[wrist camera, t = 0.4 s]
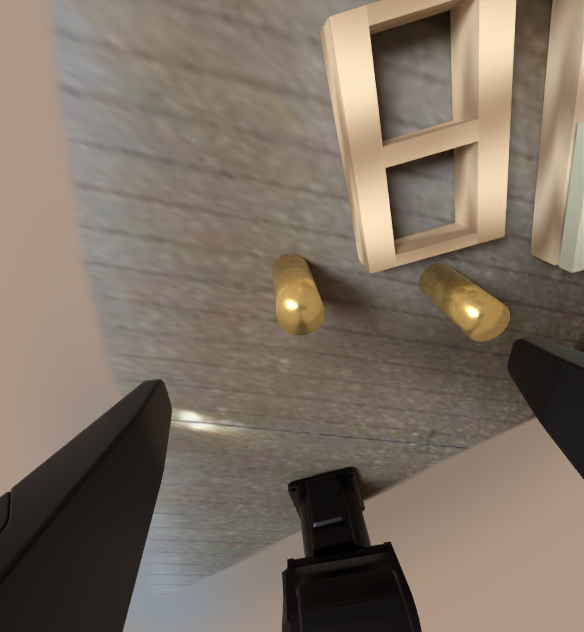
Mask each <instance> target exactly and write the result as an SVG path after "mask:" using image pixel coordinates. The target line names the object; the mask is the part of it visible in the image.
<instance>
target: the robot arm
mask: <svg viewBox="0 0 584 632" xmlns="http://www.w3.org/2000/svg"><path fill="white" fill-rule="evenodd" d="M508 372H509V374H510V376H511V378H512V379H513V381H514V382H515V384H516V385H517V387H518V389H519V390H520V392H521V393H522V395H523V397H524V398H525V400H526V401H527V403H528V404H529V406H530V408H531V409H532V411H533V412H534V414H535V416H536V417H537V419H538V420H539V422H540V423H541V424H542V426H543V427H544V428H545V430H546V431H547V433H548V434H549V435H550V436H551V438H552V439H553V440H554V442H555V443H556V444H557V445H558V447H559V448H560V449H561V451H562V452H563V453H564V455H565V456H566V457H567V458H568V460H569V461H570V462H571V464H572V465H573V466H574V467H575V469H576V470H577V471H578V473H579V474H580V475H581V476H582V478H583V479H584V352H581V351H577V350H574V349H571V348H568V347H565V346H561V345H558V344H555V343H552V342H549V341H545V340H542V339H539V338H536V337H527V338H519V339H517V340H515V342H514V343H513V346H512V350H511V354H510V357H509V361H508ZM171 415H172V407H171V402H170V399H169V396H168V393H167V390H166V386H165V384H164V382H163V380H161V379H156V380H148V381H144V382H143V383H141V384H140V385H139V386H138V387H137V388H135V389H134V390H133V391H132V392H130V393H129V394H128V395H127V396H125V397H124V398H123V399H122V400H120V401H119V402H118V403H117V404H115V405H114V406H113V407H112V408H111V409H109V410H108V411H107V412H106V413H104V414H103V415H102V416H101V417H99V418H98V419H97V420H96V421H94V422H93V423H92V424H91V425H90V426H88V427H87V428H86V429H84V430H83V431H82V432H81V433H80V434H78V435H77V436H76V437H75V438H73V439H72V440H71V441H70V442H69V443H67V444H66V445H65V446H63V447H62V448H61V449H60V450H59V451H57V452H56V453H55V454H53V455H52V456H51V457H50V458H49V459H47V460H46V461H45V462H44V463H42V464H41V465H40V466H39V467H37V468H36V469H35V470H34V471H32V472H31V473H30V474H29V475H27V476H26V477H25V478H24V479H22V480H21V481H20V482H19V483H18V484H17V485H15V486H14V487H13V488H12V489H11V492H6V493H5V494H4V495H2V496H1V497H0V632H123V628H124V624H125V620H126V617H127V613H128V608H129V605H130V601H131V597H132V593H133V589H134V585H135V582H136V578H137V573H138V570H139V566H140V562H141V558H142V554H143V550H144V547H145V543H146V539H147V535H148V531H149V527H150V523H151V519H152V515H153V512H154V508H155V504H156V500H157V496H158V492H159V488H160V484H161V480H162V476H163V472H164V466H165V459H166V452H167V444H168V437H169V430H170V423H171ZM288 491H289V494H290V496H291V498H292V501H293V503H294V505H295V508H296V510H297V512H298V514H299V517H300V519H301V527H302V536H303V545H304V553H305V558H300V559H294V558H292V559H288V560H287V564H288V568H287V569H286V570H285V571H284V572H282V578H283V617H282V632H422V631H421V626H420V622H419V617H418V613H417V609H416V606H415V603H414V600H413V597H412V594H411V591H410V588H409V586H408V583H407V581H406V579H405V576H404V574H403V571H402V569H401V566H400V564H399V561H398V559H397V556H396V554H395V552H394V549H393V547H392V544H391V542H384V544H381V545H375V546H371V543H370V539H369V535H368V532H367V528H366V525H365V521H364V518H363V514H362V511H364V510H365V506H364V503H363V499H362V495H361V491H360V487H359V484H358V480H357V476H356V472H355V470H354V469H353V468H348V469H344V470H340V471H336V472H332V473H328V474H324V475H320V476H316V477H312V478H309V479H305V480H301V481H297V482H293V483H290V484H289V485H288Z"/></svg>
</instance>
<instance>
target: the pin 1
mask: <svg viewBox="0 0 584 632" xmlns="http://www.w3.org/2000/svg"><path fill="white" fill-rule="evenodd" d="M272 275H273V284H274V293H275V302H276V311H277V319H278V322H279V324H280V326H281V327H282V328H283V329H284V330H285V331H286V332H288V333H290V334H293V335H306V334H309V333H311V332H313V331H315V330H316V329H317V328H318V327H319V326H320V325H321V324H322V322H323V320H324V317H325V309H324V305H323V303H322V300H321V298H320V295H319V292H318V290H317V287H316V285H315V282H314V279H313V277H312V274H311V272H310V269H309V266H308V264H307V262H306V261H305V259H304V258H302V257H301V256H299V255H297V254H286V255H283V256H281V257H280V258H278V259H277V260H276V262H275V263H274V265H273V269H272Z"/></svg>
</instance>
